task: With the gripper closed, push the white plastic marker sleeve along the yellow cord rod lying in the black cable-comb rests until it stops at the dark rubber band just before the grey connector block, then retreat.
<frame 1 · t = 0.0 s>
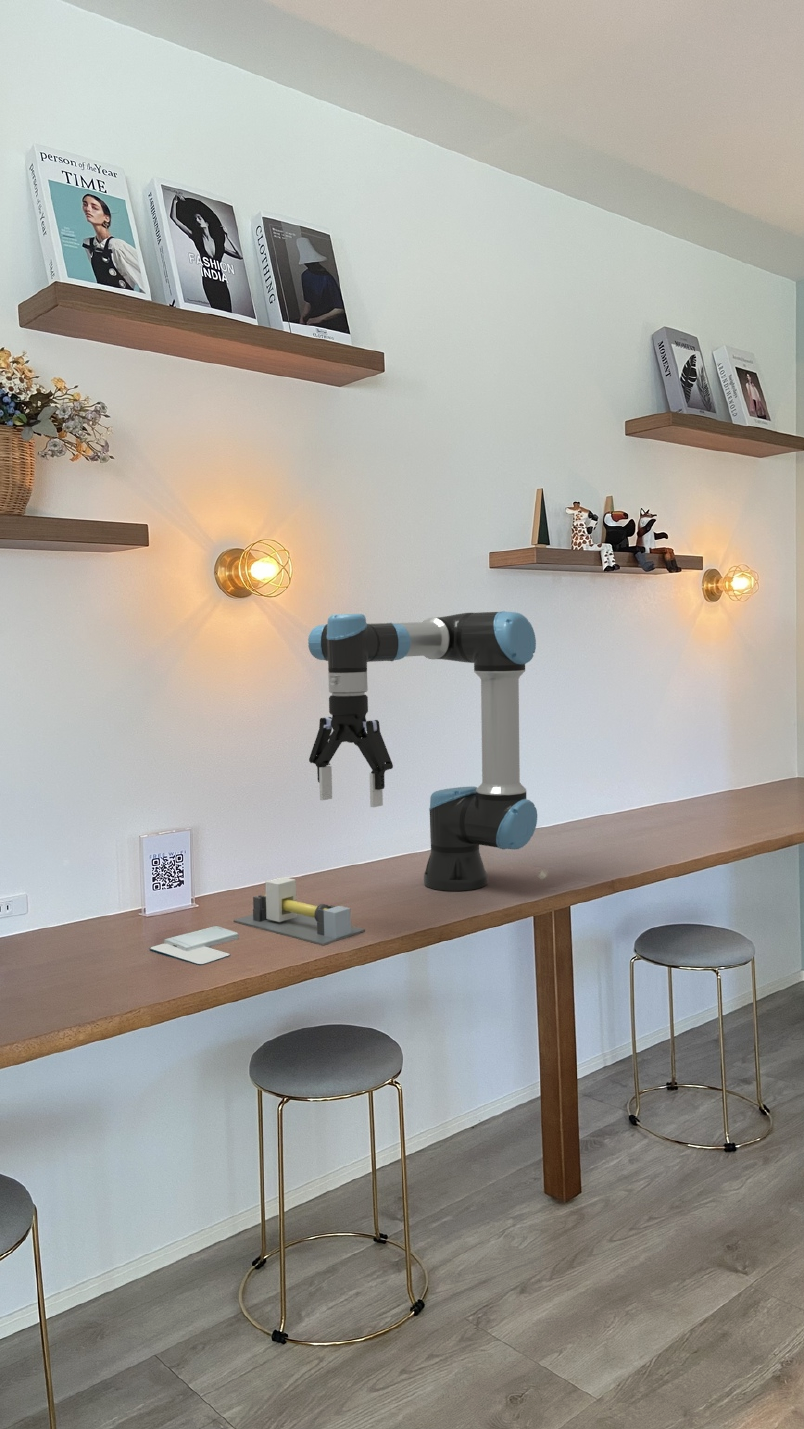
hand: (350, 802, 207), 28 cm above the table, fingers open, 13 cm apart
smartphone: (189, 956, 205), on the table, touching hard drive
sleeve: (281, 899, 224), point 5 cm above the table, slide at 0.0 cm
hard drive: (201, 944, 212), on the table, touching smartphone
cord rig: (298, 926, 221), on the table
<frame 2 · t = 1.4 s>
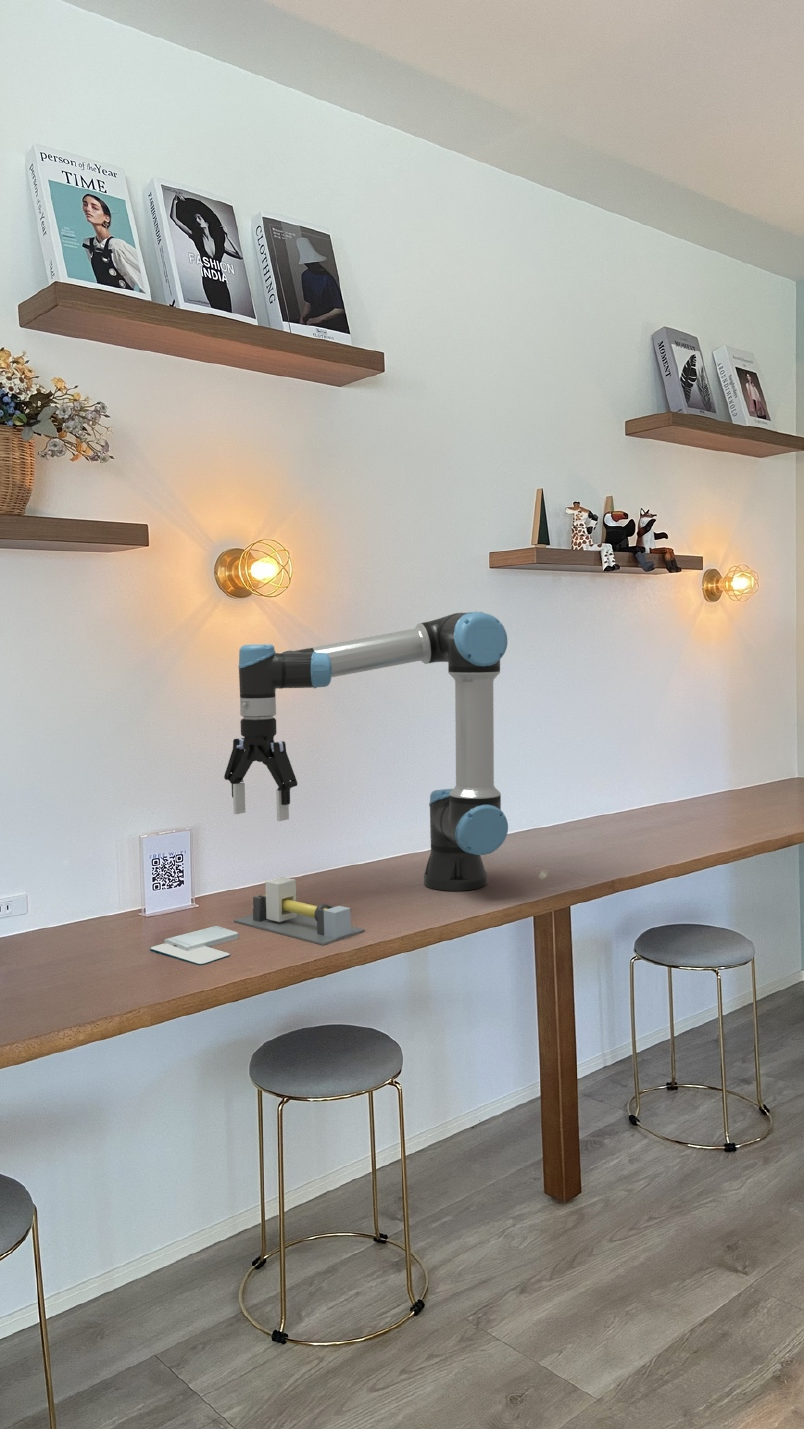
hand: (260, 816, 226), 22 cm above the table, fingers open, 13 cm apart
nothing on the table moved.
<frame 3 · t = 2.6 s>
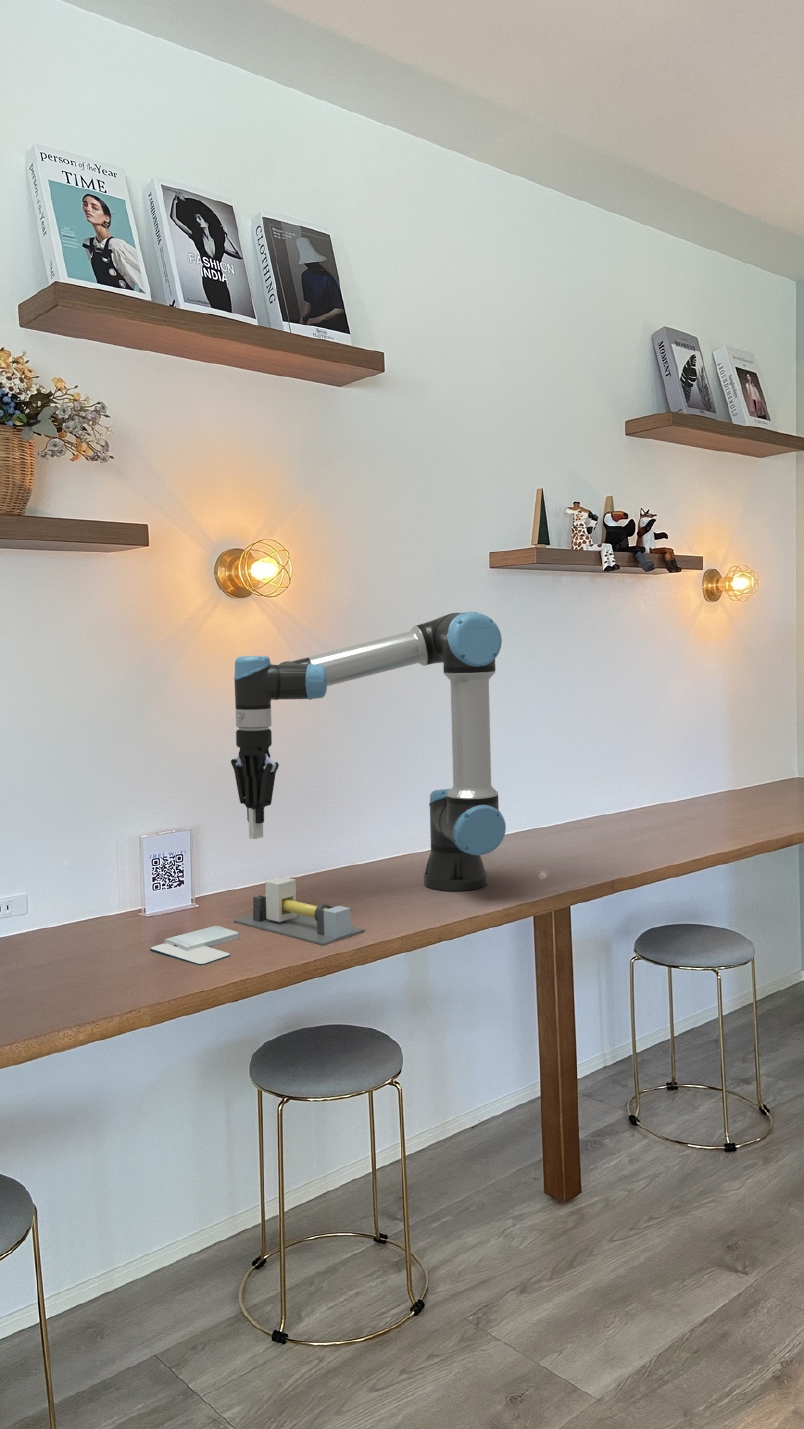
hand: (256, 837, 228), 17 cm above the table, fingers closed
nothing on the table moved.
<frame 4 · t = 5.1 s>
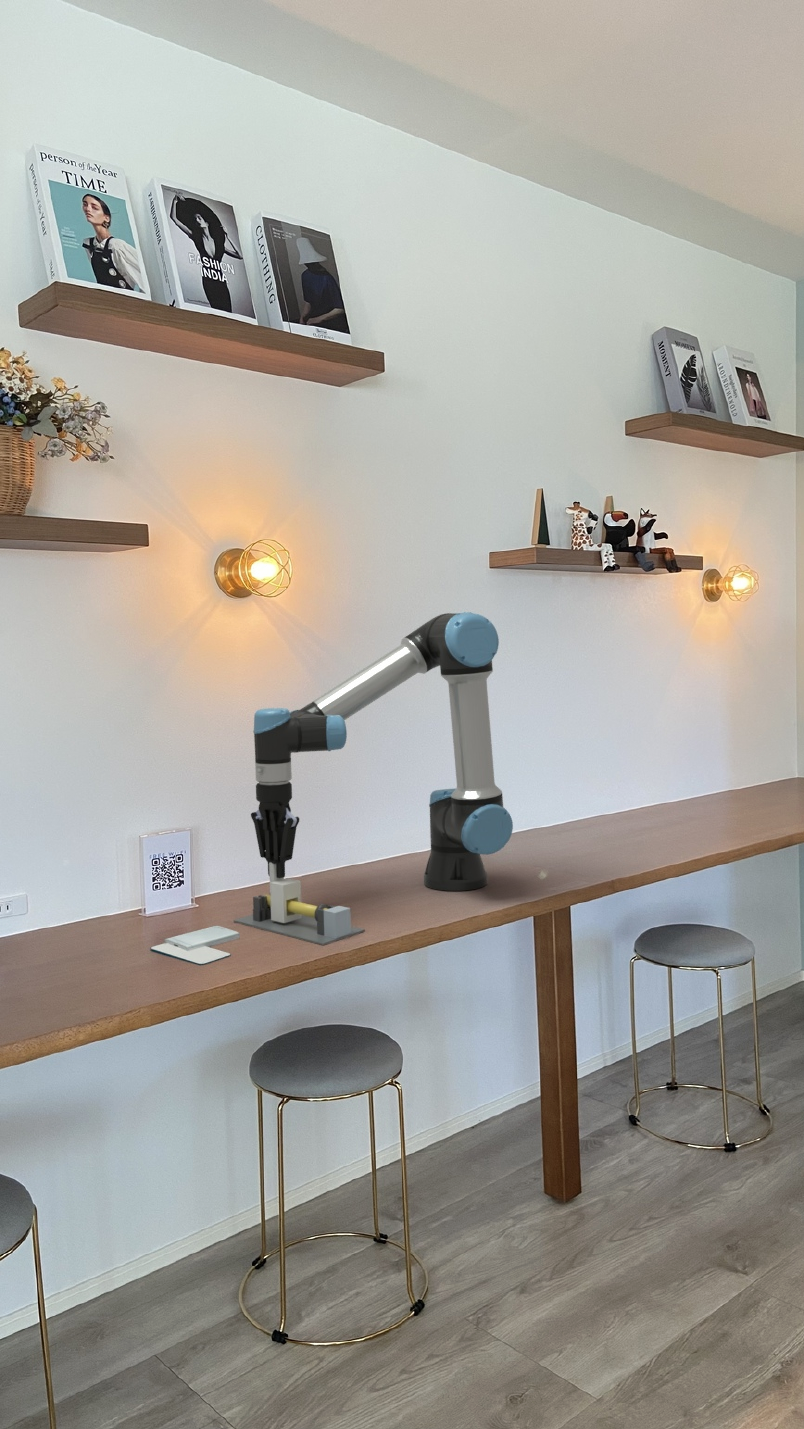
hand: (277, 892, 225), 6 cm above the table, fingers closed
smartphone: (190, 956, 205), on the table
sleeve: (285, 900, 223), point 5 cm above the table, slide at 1.5 cm, touching gripper
hard drive: (202, 943, 213), on the table
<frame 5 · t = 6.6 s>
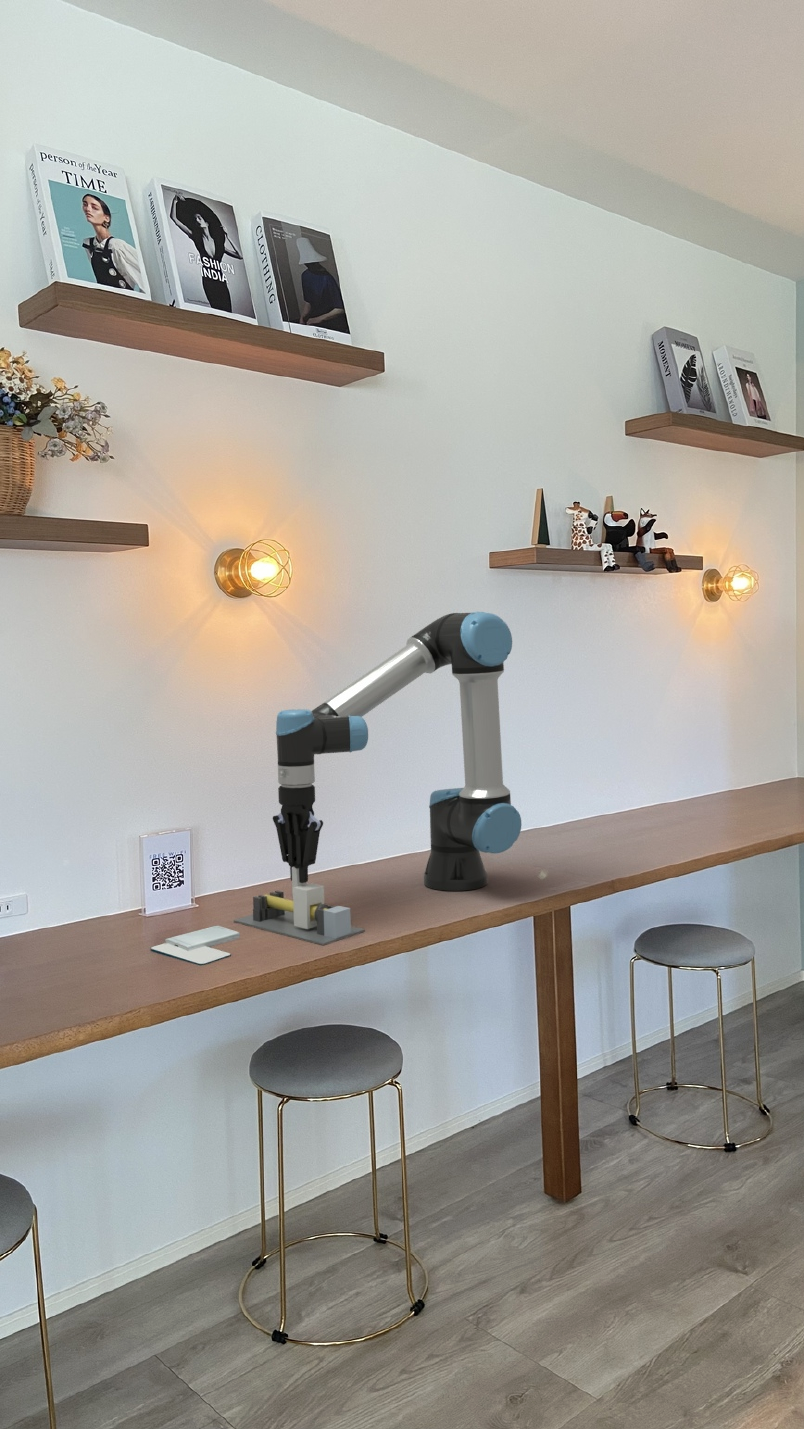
hand: (299, 897, 220), 6 cm above the table, fingers closed
smartphone: (190, 956, 205), on the table, touching hard drive
sleeve: (308, 905, 219), point 5 cm above the table, slide at 8.5 cm, touching gripper
hard drive: (202, 943, 213), on the table, touching smartphone
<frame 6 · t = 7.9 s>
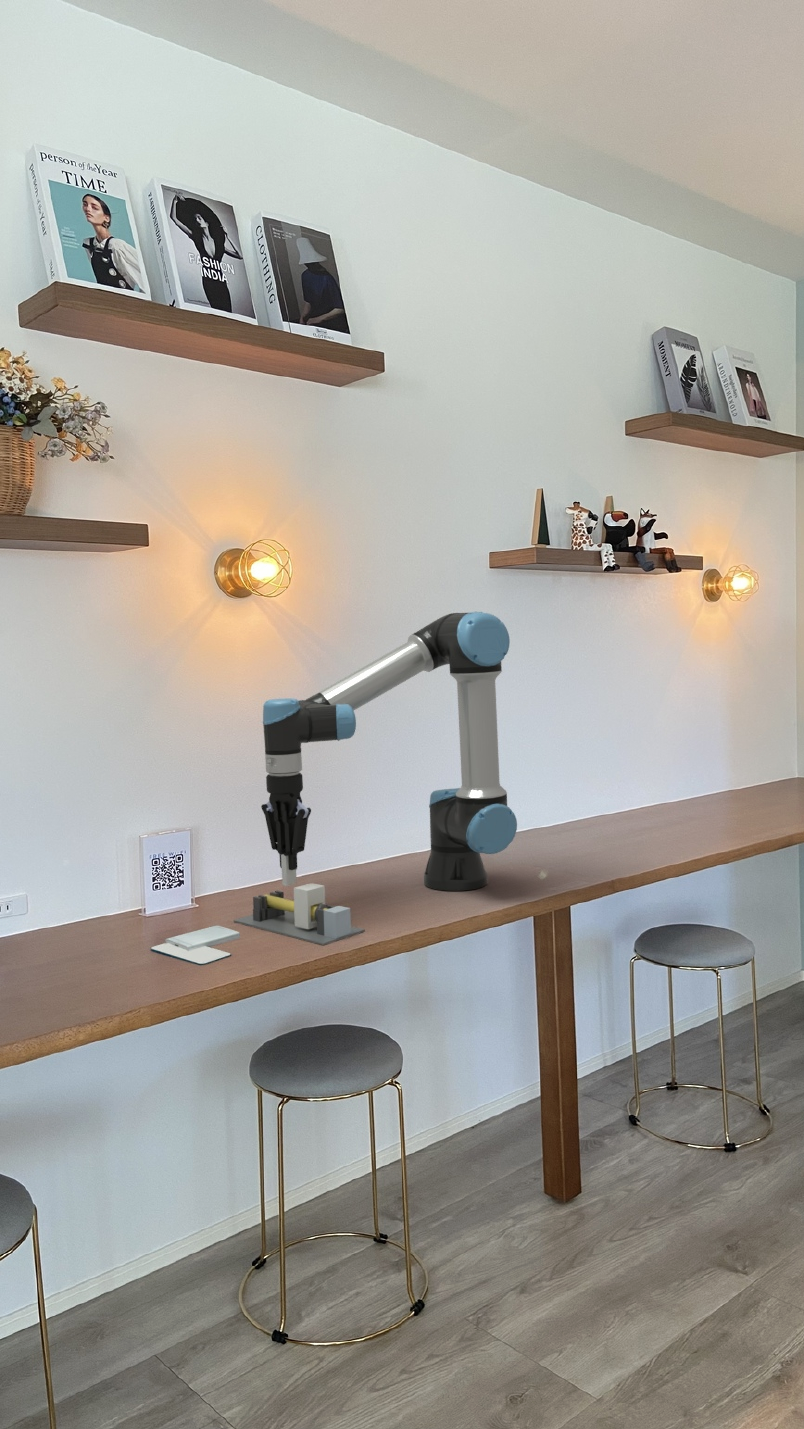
hand: (289, 884, 223), 9 cm above the table, fingers closed
sleeve: (309, 905, 219), point 5 cm above the table, slide at 8.7 cm
everything else where it was.
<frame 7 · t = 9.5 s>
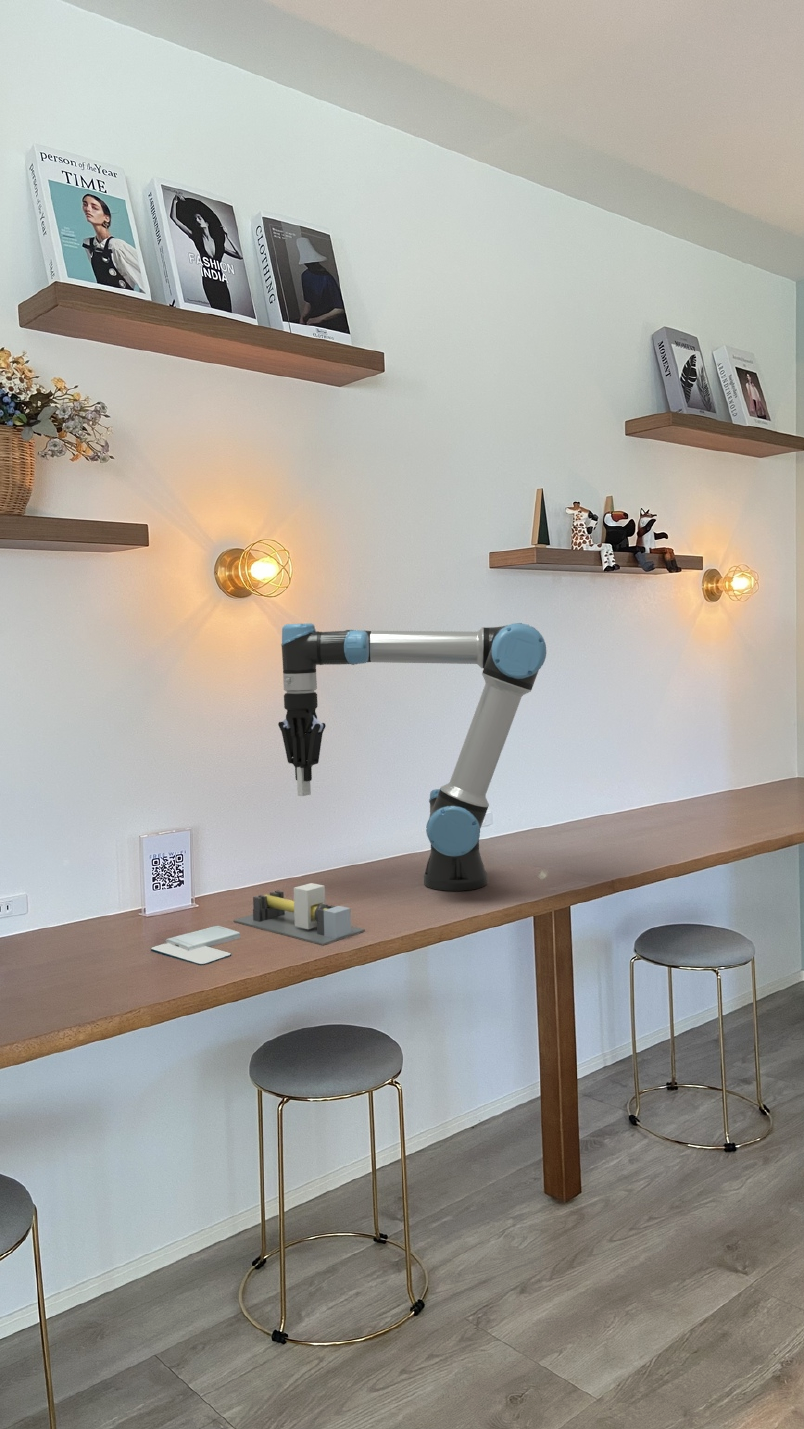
hand: (304, 795, 242), 24 cm above the table, fingers closed
nothing on the table moved.
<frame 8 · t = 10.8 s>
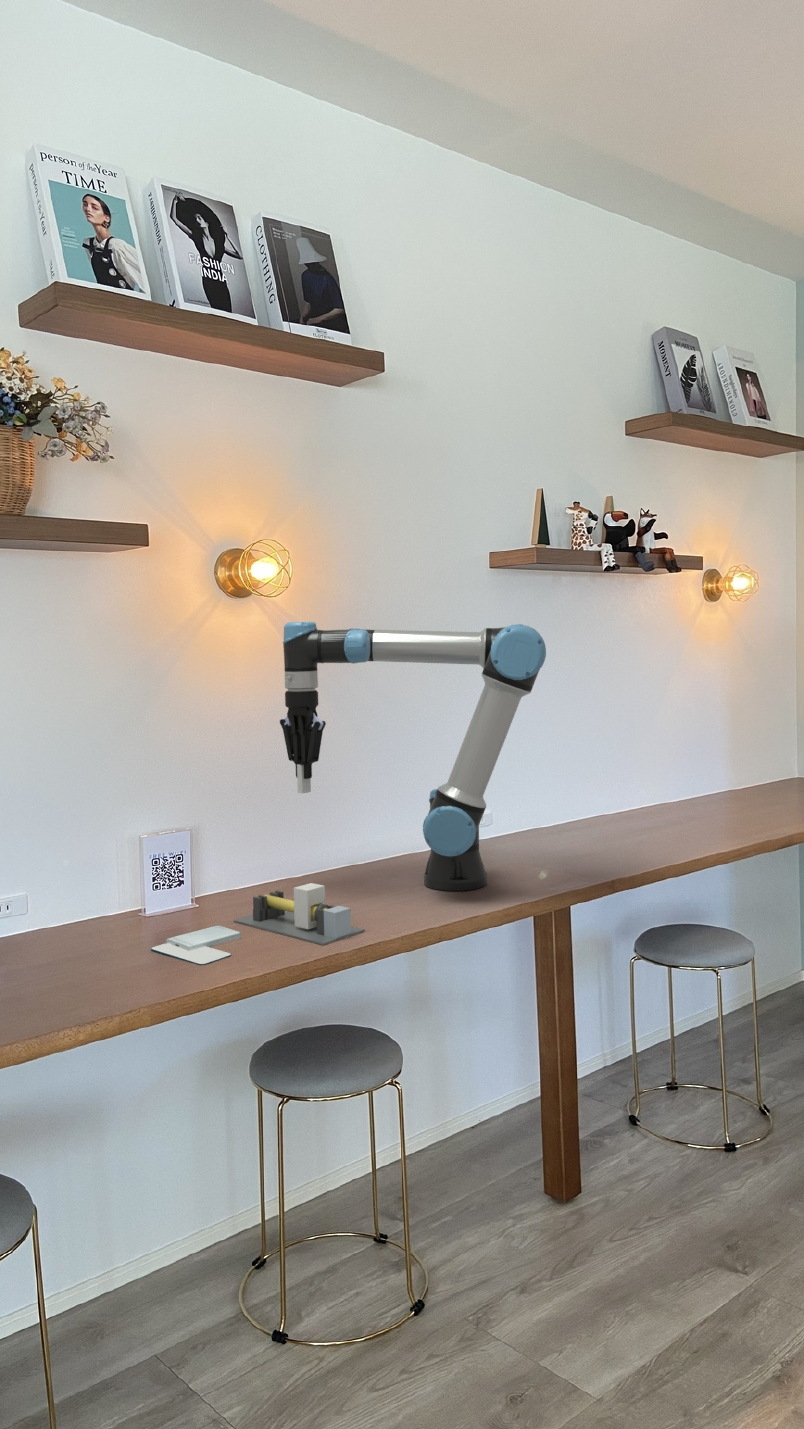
hand: (304, 792, 243), 24 cm above the table, fingers closed
smartphone: (190, 956, 205), on the table
hard drive: (203, 943, 213), on the table
everything else where it was.
at the end: sleeve slide at 8.7 cm; the gripper is holding nothing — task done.
